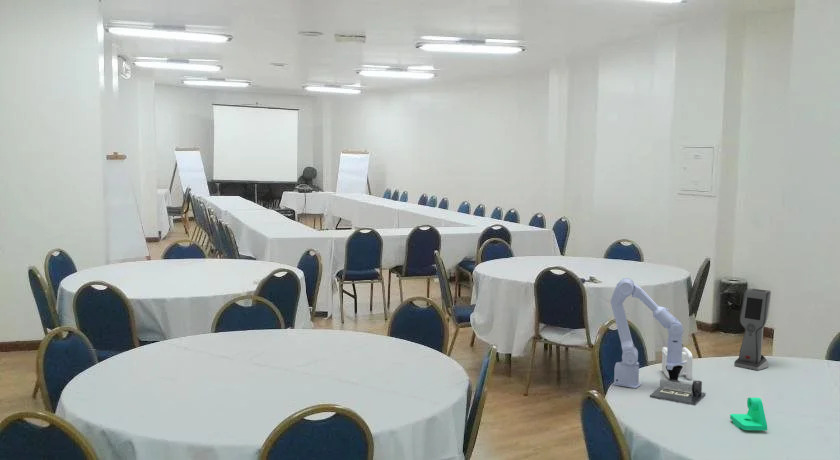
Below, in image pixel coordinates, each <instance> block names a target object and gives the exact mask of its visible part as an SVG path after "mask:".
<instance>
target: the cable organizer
mask: <svg viewBox="0 0 840 460" xmlns="http://www.w3.org/2000/svg"><path fill="white" fill-rule="evenodd" d="M661 353H662V356H661V369H662V372H663V374H664V375H665V376H666V379H669V378H670V377H669V373H668V371H667V369H666V366H667V363H666V361H667V346H663V347H662V348H661ZM693 360H694V359H693V354H692V352H691V351H690V350H689V349H688V348H687V347H685V346H682V362H685V364H684V365H680V366H683V368H682V369H681V371H680V374H682V376H685V378H687V379H688V380H691V379H692V378H693Z"/></svg>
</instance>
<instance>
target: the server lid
mask: <svg viewBox="0 0 840 460" xmlns="http://www.w3.org/2000/svg"><path fill="white" fill-rule="evenodd" d="M662 389H663V388H660V387H658V388H657V389H656V390H654V391H653V392H652V393H651V394H650V395H649V398H652V399H658V400H663V401H669V402H674V403H680V404H686V405H692V406H696V405H697V404H698V403H699V402H700V401H701V400H702V399H703V398H704V397H705V396H706V392H703V391H702V395H701V396H694V395H693V393H691V394H690V395H689V396H688V397H686V396H680V395H674V394H675V393H676V392H677V391H676V392H675V393H674V394H668V393H662V392H660V391H661V390H662Z"/></svg>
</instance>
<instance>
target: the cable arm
mask: <svg viewBox="0 0 840 460" xmlns="http://www.w3.org/2000/svg"><path fill="white" fill-rule="evenodd" d="M702 385H703V382H702V381H700V380H693V381H692V382H690V381H684V380H679V379H678V380H672V379H669V378H667V377H666V378H664V377H661V378H660V379H659V388H663V389H669V390H675V391H681V392H687V393H693V395H694V396H701V395H702V392H703V389H702V388H703V386H702Z"/></svg>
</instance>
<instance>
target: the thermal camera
mask: <svg viewBox="0 0 840 460" xmlns="http://www.w3.org/2000/svg"><path fill="white" fill-rule="evenodd" d="M771 296H772V291H771V290H765V289H758V288H748V289H745V290H744V293H743V297H742V304H741V310H740V313H739V323H740V325H741V327H743V328H744V335H743V339H742V343H741V345H740V350H739V355H738V358H737V359H736V360H735V361H734V363H733V365H734V367H739V368H743V369H746V370H747V369H748V370H752V371H758V372H759V371H761V370H764V369H767V368H769V363H768V360H767V359H766V357H765V356H764V355H763V354H762V350H763V341H764V340H763V339H764V338H763V337H764V327H765V325H766V324H767V321H768V318H769V315H770V314H769V313H770V306H771V299H772V298H771Z"/></svg>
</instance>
